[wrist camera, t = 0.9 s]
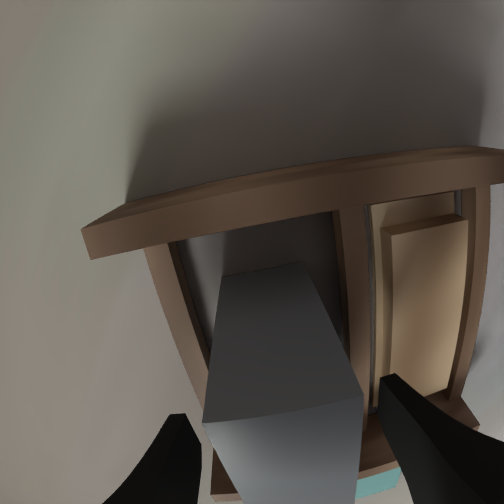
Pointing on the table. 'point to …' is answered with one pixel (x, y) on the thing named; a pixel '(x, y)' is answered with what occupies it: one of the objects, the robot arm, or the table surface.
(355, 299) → the walnut rack
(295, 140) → the table surface
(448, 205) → the lower offcut board
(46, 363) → the table surface
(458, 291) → the upper offcut board
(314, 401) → the gray rectangular block
